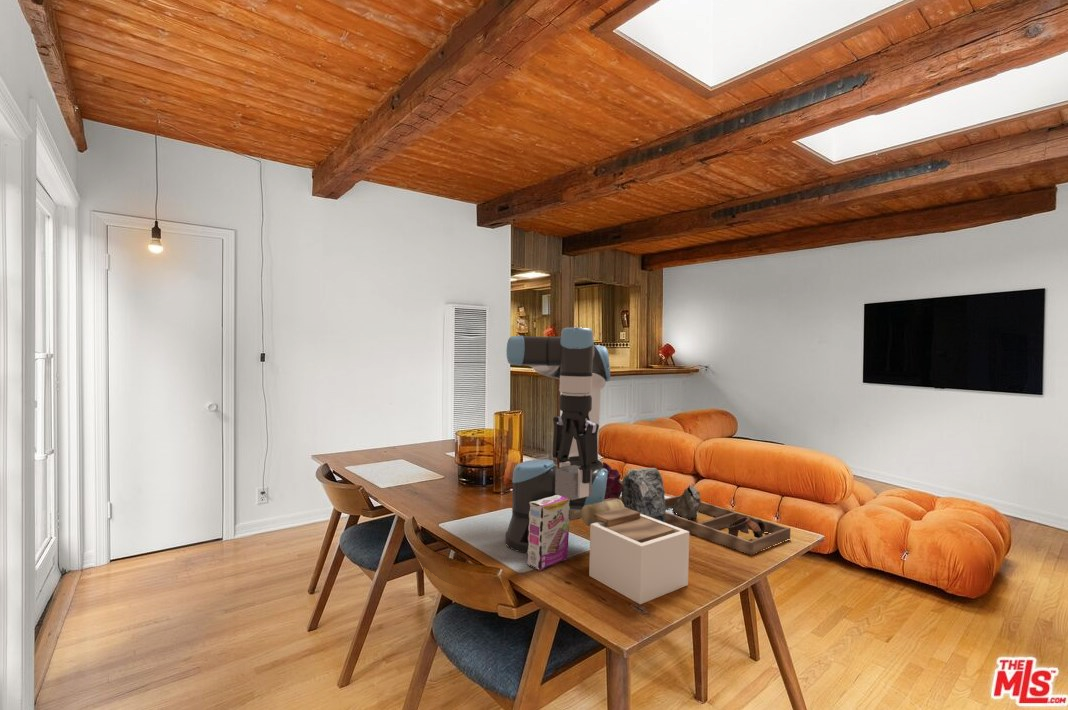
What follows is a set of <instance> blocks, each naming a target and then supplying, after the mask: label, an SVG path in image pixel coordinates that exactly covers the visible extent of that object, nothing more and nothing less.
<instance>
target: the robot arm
mask: <svg viewBox="0 0 1068 710" xmlns="http://www.w3.org/2000/svg"><path fill="white" fill-rule="evenodd" d="M560 334H561V335H560V336H532V335H531V336H530V335H528V336H527V335H514V336H510V337H508V339H507V343H506V359H507V363H508V364H509V365H512V366H519V367H520V366H528V367H531V368H532V369H533V371H535V372H536V373H537V374H539V375H542V376H545V377H548V378H550V379H551V378H552V379H557V380H559V389H558V391H559V392H560V393H561V394H559V404H558V405H559V408H558V409H559V410H560V411H562V413H561V415H560V416H554V417H552V421H553V426H554V427H553V439H552V440H553V443H552V457H553V458H555V459H556V462H557V461H558V462H559V465H558V466H557V465H555V462H554V460H552V459H547V458H538V459H531V460H526V461H522V462H520V463H518V464H516V465H515V467H514V469H513V474H512V481H511V482H512V504H511V505H512V506H511V507H512V510H511V511H512V512H511V514H512V515H511V517H510V520H509V524H508V528H507V531H506V533H505V545H506V544H507V545H508V546H509V547H510V549H511V548H512V550H513V549H514V551H516V550H517V552H520V551H521V553H527V554H528V528H529V502H533V501H536V500H540V499H544V498H547V497H551V496H554V495H558V494H555V476H556V468H559V467H566V466H572V465H577V466H580V467H578V468H579V469H578V498H579V499H575V500H570V510H582V508H583V506H586V505H590V504H595V503H599V502H604V497H605V491H606V483H607V476H608V471H607V470H606V469H605V468H603V461H602V460H601V459H600V458H599V442H600V441H599V440H600V439H599V438H600V415H601V411H600V410H601V390H602V389H604V388H605V386H606V384H607V383H606V382H609V381H610V380H611V367H610V358H609V357H610V355H609V351H608V349H607V347H606V346H604V345H597V344H594V341H595V340H594V331H593V329H592V328H589V327H564V328H563V329H561V332H560ZM591 470H592V494H591V496H589V483H590V476H591ZM587 496H589V497H587ZM582 497H584V498H582ZM507 545H506V546H507ZM508 546H507V547H508ZM509 547H508V548H509Z"/></svg>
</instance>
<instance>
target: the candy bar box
mask: <svg viewBox="0 0 1068 710" xmlns="http://www.w3.org/2000/svg"><path fill="white" fill-rule="evenodd" d="M569 512H570V499H568V498H565V497H563V496H560V495H554V496H551V497H547V498H544V499H540V500H536V501H533V502H529V528H528V553H527V554H526V555H527V559H526V560H527V561H526V565H527V564H528V565H530V566H532V567H531V568H533V567H534V568H533V569H535V568H536V569H535V570H537V569H538V571H540V572H541V571H542V570H544V569H547V568H549V566H550V567H551V565H552V566H554V565H556V564H558V562H559V563H561V562H563V561H566V560H568V559H567V558H568V557H569V537H570V535H569V533H570V519H569ZM565 559H566V560H565ZM560 561H561V562H560ZM528 565H527V566H528ZM530 566H529V567H530Z"/></svg>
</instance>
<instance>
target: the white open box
mask: <svg viewBox="0 0 1068 710" xmlns="http://www.w3.org/2000/svg"><path fill="white" fill-rule="evenodd" d="M640 517H642V518H645V519H647V520H650V521H653V522H655V523H658V524H661V525H663V526H666V527H669V528H671V529H674V533H672V534H669V535H666V536H663V537H659V538H656V539H653V540H649V541H646V542H643V543H640V542H638V541H635V540H633V539H631V538H628V537H626V536H624V535H621V534H619V533H617V532H615V531H612V530H610V529H608V528H605V527H604V526H607V523H606V522H604V521H600V522H596V523H592V524H590V526H589V529H590V530H589V535H590V536H589V565H588V566H589V571H588V572H589V574H588V576H589V577H591V578H593V579H594V580H596V581H597V582H600V583H601V584H604V585H605V586H607V587H609V588H610V589H612V590H613V591H616V592H617V593H619V594H621V595H623V596H624V597H626V598H628V599H630V600H631V601H633V602H635V603H637V604H639V605H642V604H645V603H648V602H651V601H652V600H655V599H657V598H660V597H662V596H664V595H667V594H669V593H672V592H675V591H676V590H679V589H681V588H685V587H686V586H689V562H690V561H689V559H690V558H689V556H690V555H689V554H690V533H689V531H686V530H684V529H681V528H678V527H676V526H673V525H670V524H667V523H665V522H662V521H659V520H657V519H654V518H651V517H648V516H646V515H643V514H640Z"/></svg>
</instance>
